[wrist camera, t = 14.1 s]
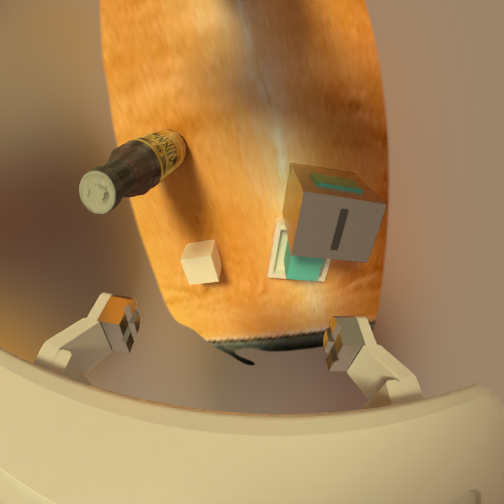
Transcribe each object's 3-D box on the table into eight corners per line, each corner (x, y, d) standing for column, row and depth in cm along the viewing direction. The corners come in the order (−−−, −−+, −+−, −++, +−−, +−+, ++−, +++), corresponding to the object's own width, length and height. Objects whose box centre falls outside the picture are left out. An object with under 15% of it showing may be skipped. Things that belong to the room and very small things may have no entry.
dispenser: (290, 161, 37) (304, 189, 27) (354, 171, 38) (388, 203, 28) (282, 212, 42) (291, 256, 32) (342, 219, 42) (367, 263, 32)
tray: (275, 217, 42) (276, 224, 41) (335, 224, 43) (339, 231, 41) (267, 269, 48) (267, 277, 46) (321, 273, 48) (324, 281, 46)
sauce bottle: (197, 152, 37) (148, 207, 20) (164, 175, 39) (103, 243, 22) (171, 117, 34) (99, 144, 17) (140, 143, 36) (60, 190, 19)
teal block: (283, 260, 46) (286, 278, 42) (288, 234, 43) (291, 251, 39) (311, 262, 46) (317, 281, 42) (318, 237, 44) (324, 254, 39)
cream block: (186, 243, 45) (180, 259, 41) (215, 238, 45) (211, 255, 41) (194, 266, 48) (189, 284, 44) (221, 263, 48) (218, 281, 43)
